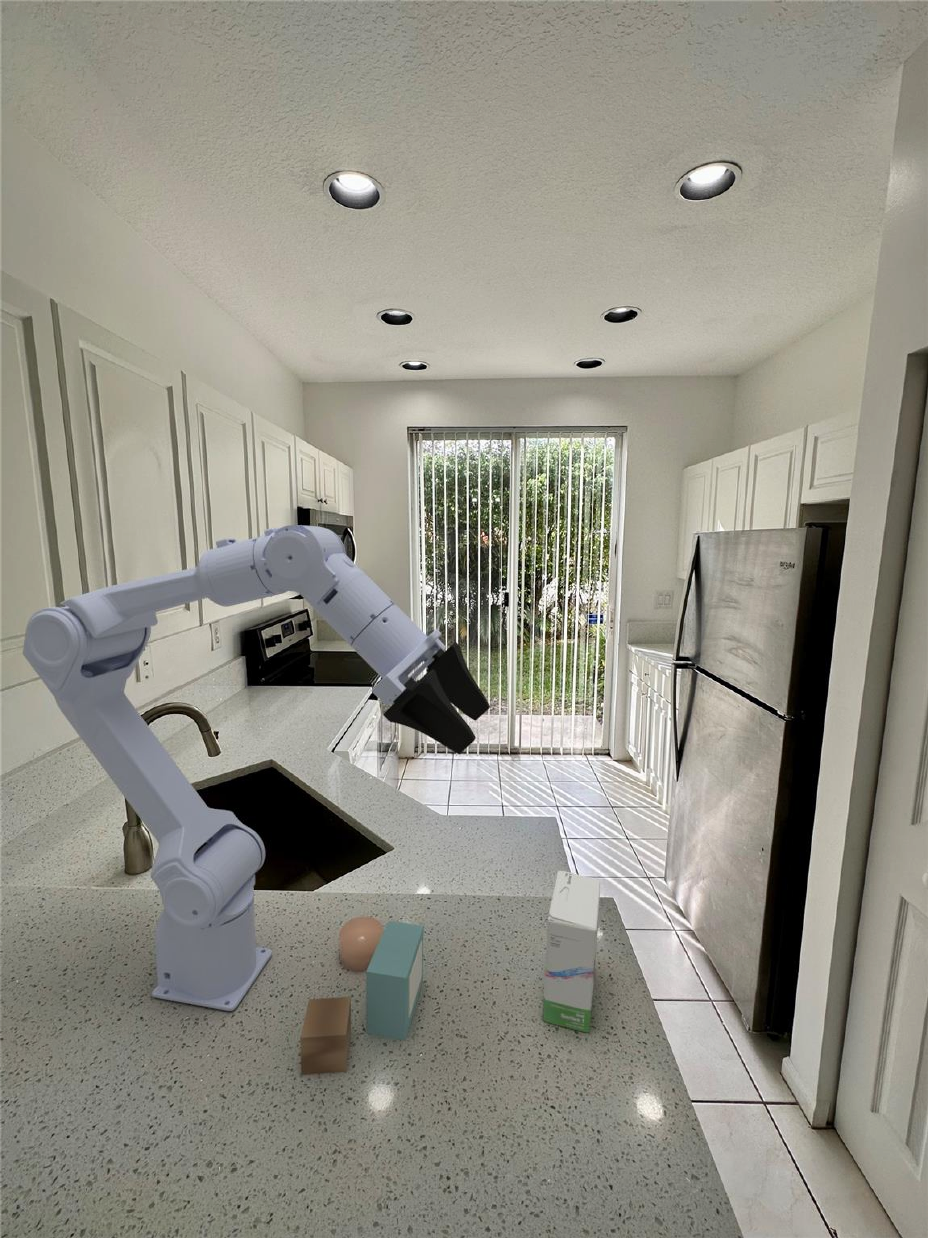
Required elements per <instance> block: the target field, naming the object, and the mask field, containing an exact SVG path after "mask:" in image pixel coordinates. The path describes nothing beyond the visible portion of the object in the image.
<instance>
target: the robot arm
mask: <svg viewBox="0 0 928 1238" xmlns="http://www.w3.org/2000/svg"><path fill="white" fill-rule="evenodd" d="M263 531H264V534H263V535H260V536H256V537H252V538H248V539H245V540H241V541H238V542H237V539H236V538H234V537H233V538H229V537H227V538H226V537H225V538H222V539H219V540H216V541H215V545H216V547H215V548H214V547H213V548H211V549H207V550H206V551H204V552H203V554H202V555H201V557H200V559H199V560H198V564H197V566H196V567H192V568H187V569H183V570H176V571H174V572H173V571H172V572H170V573H168V572H167V573H164V574H159V575H155V576H150V577H147V578H142V579H137V580H132V581H129V582H128V581H127V582H124V583H119V584H114V585H110V586H107V587H104V588H100V589H97V590H92V591H90V592H87V593H82V594H80V595H76V596H73V597H69V598H67V599H66V600H63V601H61V602H60V605H62V606H61V607H58V606H50V607H44V608H41V609H39V610H37V611H36V612H34V613H33V614H32V616H30V618H29V620H28V621H27V624H26V628H25V635H24V640H23V641H24V642H23V647H22V655H23V656H24V658H25V659H26V661H27V662H28V663H29V665H30V666H31V667H32V669H33V670H34V672H35V673H36V674H37V675H38V677H39V678H40V679H41V681H42V683H44V685H45V686H46V688H47V689H48V690H49V692H50V693H51V694H52V696H53V697H54V699H55V703H56V705H57V707H58V708H59V710H60V712H61V713H62V715H63V716H64V717H65V719H66V720H67V721H68V722H69V724H70V725H71V726H72V728H73V730H74V731H75V732H76V734H77V735H78V736H79V738H80V739H81V740H82V741H83V743H84V744H85V746H86V747H87V748H88V749H89V752H91V754H92V755H93V757H94V758H95V759H96V761H97V762H98V763H99V764H100V766H101V768H102V769H103V770H104V771H105V772H106V774H107V775H108V777H109V778H110V779H111V781H112V782H113V783H114V785H115V786H116V788H117V789H118V791H120V793H121V795H122V796H123V797H124V798H125V799H126V801H127V802H128V803H129V805H130V807H132V809H133V811H134V812H135V813H136V814H137V816H138V818H140V820H141V821H142V822H143V824H144V825H145V827H146V829H148V831H149V833H151V835H152V836H153V837H154V840H156V841H157V842H158V847H157V851H156V854H155V858H154V861H153V863H152V867H151V870H150V874H149V875H150V879H151V880H152V881H153V882H154V884H155V886H156V887H157V888H158V891H159V894H160V897H161V902H162V905H163V911H162V912H161V914H160V916H159V918H158V922H157V924H156V928H155V932H154V933H155V934H154V950H155V963H156V964H155V966H156V977H157V986H156V987H155V988H154V989H153V990H152V992H151V993H152V997H153V998H158V999H161V1000H168V1001H172V1002H173V1001H174V1002H177V1003H178V1002H179V1003H183V1004H190V1005H195V1006H200V1007H201V1006H202V1007H205V1008H206V1007H207V1008H211V1009H216V1010H223V1011H227V1012H229V1011H230V1012H232V1011H235V1009H237V1007H238V1006H239V1004H240V1003H241V1001H242V1000H243V999H244V997H245V995H246V994H247V992H248V991H249V990H250V988H251V987H252V985H253V983H254V982H255V981H256V979H257V978H258V976H259V974H260V973H261V971H262V970H263V969H264V967H265V965H266V964H267V963H268V961H270V958H271V957H272V955H273V950H272V949H271V948H267V947H260V946H257V945H256V942H257V941H256V918H255V917H256V916H255V915H256V914H255V890H254V886H255V885H256V873H257V872H258V871H259V870H260V869H261V868H262V867H263V865H264V862H265V860H266V848H265V845H264V842H263V840H262V838H261V837H260V835H259V834H258V833H257V832H256V831H255V830H253V829H252V828H251V827H248V826H247V825H245V824H243V823H242V822H241V820H239V819H238V817H236V814H234V812H233V811H231V810H226V809H217V808H216V809H215V808H211V807H209V806H207V804H206V802H205V801H204V800H203V799H202V797H201V796H200V795H199V793H198V792H197V790H196V789H195V787H194V786H193V785H192V784H191V782H190V780H189V779H188V777H186V775H185V774H184V773H183V771H182V770H181V769H180V767H179V766H178V765H177V763H176V762H175V761H174V759H173V758H172V756H171V755H170V754H169V752H168V751H167V750H166V748H165V747H164V745H163V744H162V742H161V741H160V740H159V739H158V738H157V736H156V735H155V733H154V732H153V731H152V729H151V728H150V726H149V725H148V723H147V722H146V721H145V720H144V719H143V717H142V716H141V714H140V713H139V711H138V710H137V708H136V707H135V706H134V705H133V704H132V702H131V701H130V699H129V697H127V695H126V694H125V689H126V685H127V680H129V678H130V677H131V675H132V673H133V671H134V670H135V668H136V666H137V664H138V663H139V660H140V658H141V656H142V655H143V653H144V651H145V649H146V647H147V645H148V643H149V640H150V638H151V633H152V627H154V626H156V625H157V624H158V621H159V620H158V617H157V613H159V612H161V611H165V610H169V609H172V608H176V607H179V606H182V605H187V604H190V603H194V602H196V601H201V600H205V599H208V600H210V601H211V602H212V603H214V604H216V605H219V606H221V607H232V606H237V605H240V604H245V603H248V602H253V601H257V600H261V599H265V598H266V599H267V598H269V597H274V596H279V595H283V594H285V593H287V592H294V593H298V594H299V595H300V596H301V597H302V598H303V599H304V600H305V601H306V602H307V603H308V604H309V605H310V606H311V607H312V608H313V609H314V610H315V611H316V612H317V613H318V615H320V616H321V617H322V619H324V621H325V622H326V623H327V624H328V625H329V626H331V628H332V629H333V630H334V631H335V632H336V633H337V634H338V635H339V636H340V637H342V639H343V640H344V641H345V642H346V643H347V644H348V645H349V646H350V647H351V649H353V650H354V651H355V652H356V653H357V654H358V655H359V656H360V657H361V658H362V659H363V660H364V661H365V662H366V663H367V664H368V665H369V666H370V668H371V669H373V670H374V671H375V672H376V673H377V675H378V676H380V678H382V679H380V681H379V682H378V683H377V684H376V685H375V686H373V688H372V689H371V692H372V694H374V695H375V696H376V697H377V698H378V699H379V700H380V701H381V702H382V703H383V705H384V706H386V708H387V709H386V711H385V712H384V713H382V714H383V717H384V718H385V719H386V720H387V721H389V722H390V723H393V724H394V723H395V724H398V725H402V726H404V727H408V728H410V729H413V730H415V731H418V732H419V733H422V734H424V735H425V736H427V737H428V738H430V739H433V740H434V741H436V742H437V743H439V744H440V745H442V746H444V747H445V748H447V749H449V750H450V751H452V752H453V753H455V754H457V755H461V754H462V753H463V752H464V751H465V750H466V749H467V748H468V747H469V746H470V745H472V744H473V743H474V741H475V740H476V739H477V737H476V736H475V733H474V732H473V730H472V728H471V727H470V725H469V724H468V722H467V721H466V719H464V718H463V716H461V714H460V713H459V712H458V710H459V711H460V712H461V713H463V714H464V715H465V716H467V717H468V718H469V719H471V720H473V721H474V722H476V721H477V720H478V719H479V718H480V717H482V716H483V715H484V714H485V713H486V712H487V711H488V710H489V709H490V708H491V705H490V703H489V701H488V700H487V698H486V697H485V694H484V693H483V691H482V690H481V688H480V686H478V684H477V682H476V680H475V679H474V677H473V676H472V674H471V672H470V669H469V667H468V665H467V664H466V661H465V658H464V654H463V651H462V647H461V646H460V644H459V643H457V641H454V642H453V643H452V644H451V645H450V646H449V647H448V648H447V646H446V645H445V644H444V643H443V642H442V640H440V639H439V637H440V636H441V635H442V632H440V630H439V629H437V628H436V629H434V631H433V632H431V633H430V634H429V635H427V634H426V633H425V632H424V631H423V630H422V629H421V628H420V627H419V626H418V625H417V624H416V623H415V622H414V621H413V620H412V619H411V618H410V617H409V616H408V615H407V614H406V613H405V612H404V611H403V610H402V609H401V608H400V607H399V606H398V605H397V604H396V603H395V602H394V601H393V600H392V599H391V598H390V596H388V595H387V594H386V593H385V592H384V591H383V590H382V589H381V587H379V586H378V585H377V583H375V581H374V580H372V578H370V576H368V575H367V574H366V573H365V572H364V570H363V569H361V568H359V567H358V565H357V564H355V562H353V560H352V559H351V558H350V557H349V556H348V555H347V551H346V548H345V545H344V543H343V541H342V540H341V537H340V536H339V535H337V533H335V532H334V531H332V530H331V529H329V528H325V527H323V526H319V525H318V526H316V525H302V524H300V525H297V524H290V525H285V526H282V527H280V528H279V527H269V528H266V529H264V530H263ZM445 649H446V650H445ZM420 664H421V665H420ZM415 669H416V670H415ZM414 670H415V671H414ZM425 670H426V672H425V674H424V675H423V676H422V677H421V678H420V679H417V678H418V677H419V676H420V675H421V674H422V673H423V672H424V671H425ZM412 672H413V673H412ZM411 673H412V674H411ZM410 674H411V675H410ZM409 675H410V676H409ZM416 679H417V680H416ZM392 703H393V704H392ZM390 705H391V706H390ZM388 707H389V708H388ZM455 707H456V708H457V709H458V710H457V709H456V708H455ZM205 843H206V844H205ZM204 844H205V845H204ZM203 845H204V846H203ZM201 846H203V847H202V848H201ZM199 848H201V849H200V850H198V849H199ZM197 851H198V852H197Z"/></svg>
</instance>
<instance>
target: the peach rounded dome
mask: <svg viewBox="0 0 928 1238" xmlns="http://www.w3.org/2000/svg"><path fill="white" fill-rule="evenodd" d="M383 931H384V927H383V924H382V923H381V922H380V920H378V919H376V918H374V917H371V916H359V917H354V918H352V919H350V920H348V921H347V922H345V923H344V925H343V926H342V927H341V928H340V929H339V961H340V960H341V961H340V963H341V965H342V964H343V965H344V966H345V967H346V968H345V967H344V966H343V965H342V966H343V967H344V968H345V969H347V968H348V969H347V970H349V969H350V970H349V971H353V972H363V971H367V969H368V966H369V964H370V962H371V959H372V957H373V955H374V952H375V950H376V948H377V945H378V943H379V941H380V938H381V936H382V934H383Z"/></svg>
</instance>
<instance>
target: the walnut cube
mask: <svg viewBox="0 0 928 1238" xmlns="http://www.w3.org/2000/svg"><path fill="white" fill-rule="evenodd" d="M351 998H352V997H351V996H346V997H344V996H343V997H342V996H341V997H327V998H326V997H325V998H311V999H308V1003H307V1006H306V1011H305V1017H304V1020H303V1025H302V1030H301V1036H300V1066H301V1068H300V1069H301V1071H300V1073H301V1076H304V1075H305V1076H306V1075H317V1074H319V1075H320V1074H322V1075H323V1074H333V1073H346V1072H347V1068H348V1059H349V1051H350V1043H351V1033H352V1003H351V1002H352V999H351Z"/></svg>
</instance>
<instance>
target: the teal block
mask: <svg viewBox="0 0 928 1238" xmlns="http://www.w3.org/2000/svg"><path fill="white" fill-rule="evenodd" d="M365 971H366V973H365V977H366V980H365V981H366V983H365V986H366V987H365V988H366V991H365V993H366V996H365V998H366V1000H365V1003H366V1007H365V1008H366V1009H365V1010H366V1015H365V1016H366V1017H365V1018H366V1025H365V1026H366V1029H365V1030H366V1031H365V1032H366V1033H365V1034H367V1035H371V1036H377V1037H382V1038H387V1039H394V1040H399V1041H404V1042H405V1041H407V1038H408V1034H409V1030H410V1027H411V1023H412V1019H413V1016H414V1013H415V1011H416V1007H417V1004H418V999H419V998H420V997H419V996H420V992H421V988H422V986H423V981H424V980H423V979H424V925H421V924H415V923H407V922H402V921H394V920H387V923H386V925H385V926H384V928H383V934H382V936H381V938H380V941H379V943H378V945H377V948H376V950H375V952H374V955H373V957H372V959H371V962H370V964H369V966H368V969H367V970H365Z"/></svg>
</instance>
